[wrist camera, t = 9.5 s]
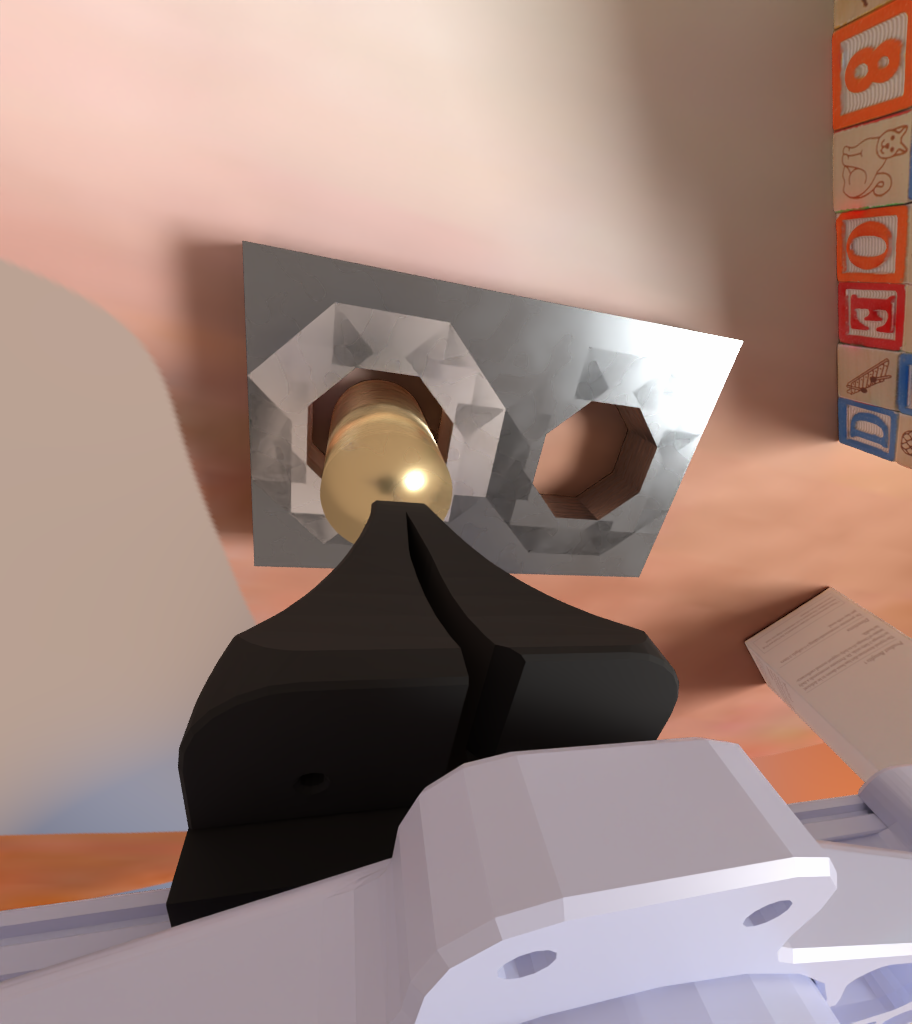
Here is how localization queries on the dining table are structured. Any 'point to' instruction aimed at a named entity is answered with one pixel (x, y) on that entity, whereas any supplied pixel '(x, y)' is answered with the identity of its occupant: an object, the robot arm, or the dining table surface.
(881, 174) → the stack of blocks
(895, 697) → the supplement box
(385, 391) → the gold rounded cylinder
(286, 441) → the plate
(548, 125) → the dining table surface
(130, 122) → the dining table surface
